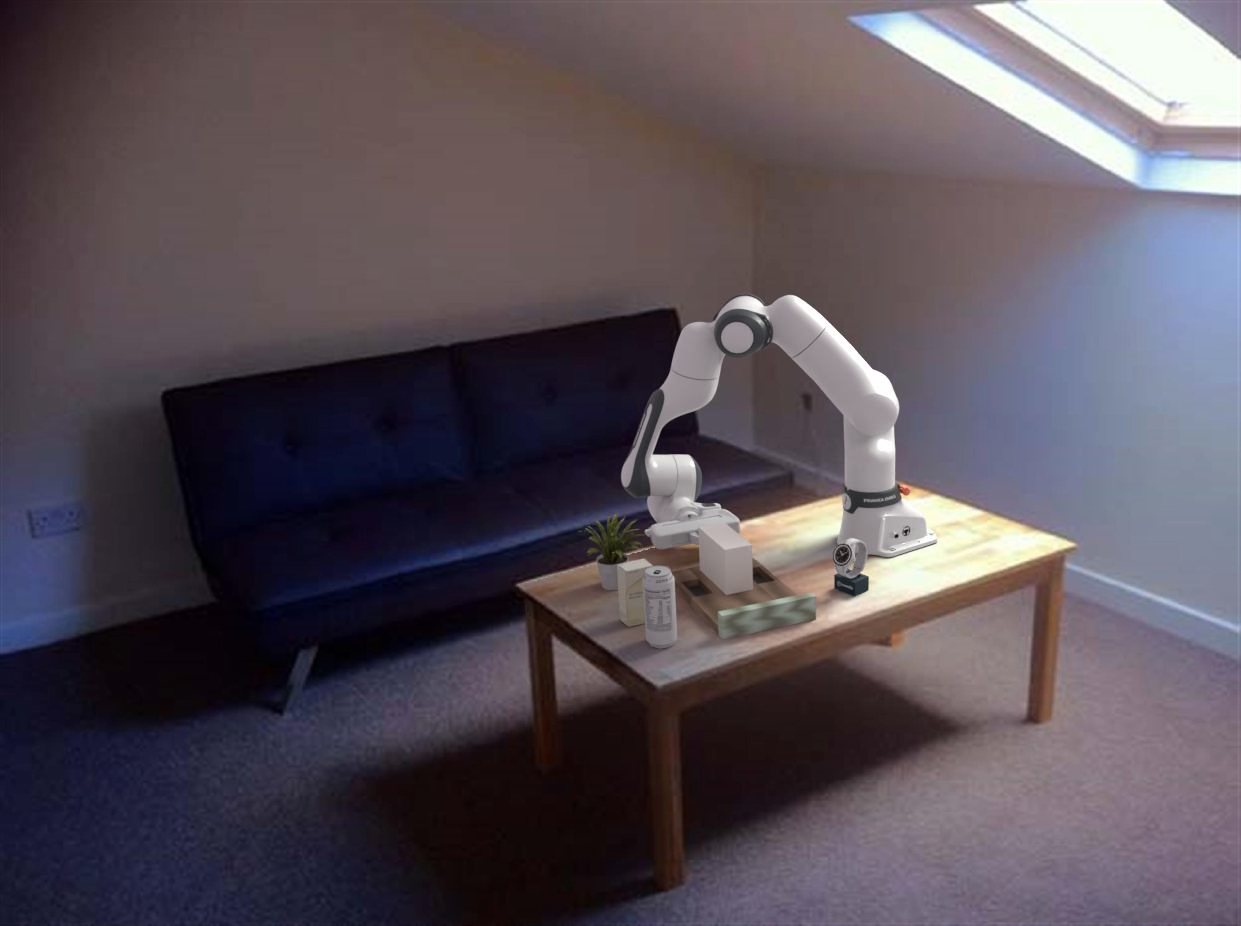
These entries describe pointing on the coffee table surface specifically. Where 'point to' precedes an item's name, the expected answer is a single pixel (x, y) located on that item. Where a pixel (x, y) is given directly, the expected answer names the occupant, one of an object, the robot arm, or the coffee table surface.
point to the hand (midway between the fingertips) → (708, 542)
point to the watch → (847, 578)
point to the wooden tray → (744, 602)
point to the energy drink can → (660, 606)
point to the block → (725, 558)
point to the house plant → (611, 550)
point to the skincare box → (632, 591)
